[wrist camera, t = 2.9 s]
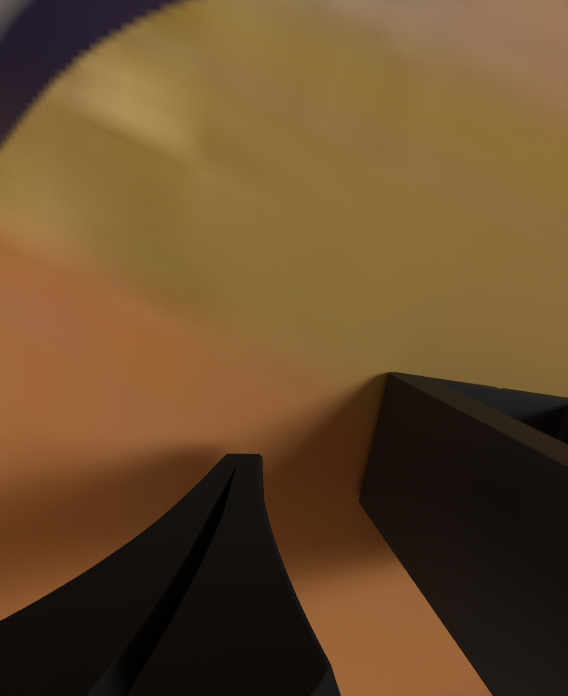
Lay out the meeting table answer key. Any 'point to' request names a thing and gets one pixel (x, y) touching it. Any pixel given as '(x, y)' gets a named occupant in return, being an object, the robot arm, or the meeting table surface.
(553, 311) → the meeting table surface
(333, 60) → the meeting table surface
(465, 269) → the meeting table surface
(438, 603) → the phone stand
